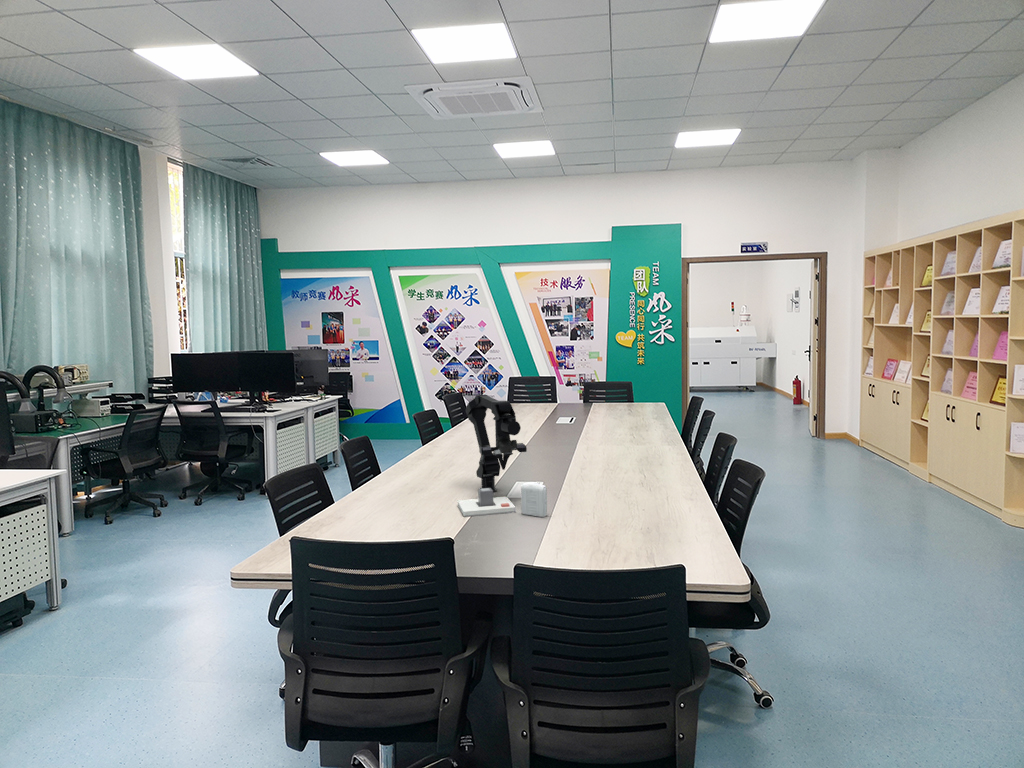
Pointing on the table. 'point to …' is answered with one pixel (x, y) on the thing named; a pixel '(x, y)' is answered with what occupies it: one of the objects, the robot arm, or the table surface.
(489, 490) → the plug
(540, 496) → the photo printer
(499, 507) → the socket plate
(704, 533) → the table surface
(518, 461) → the table surface
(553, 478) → the table surface
